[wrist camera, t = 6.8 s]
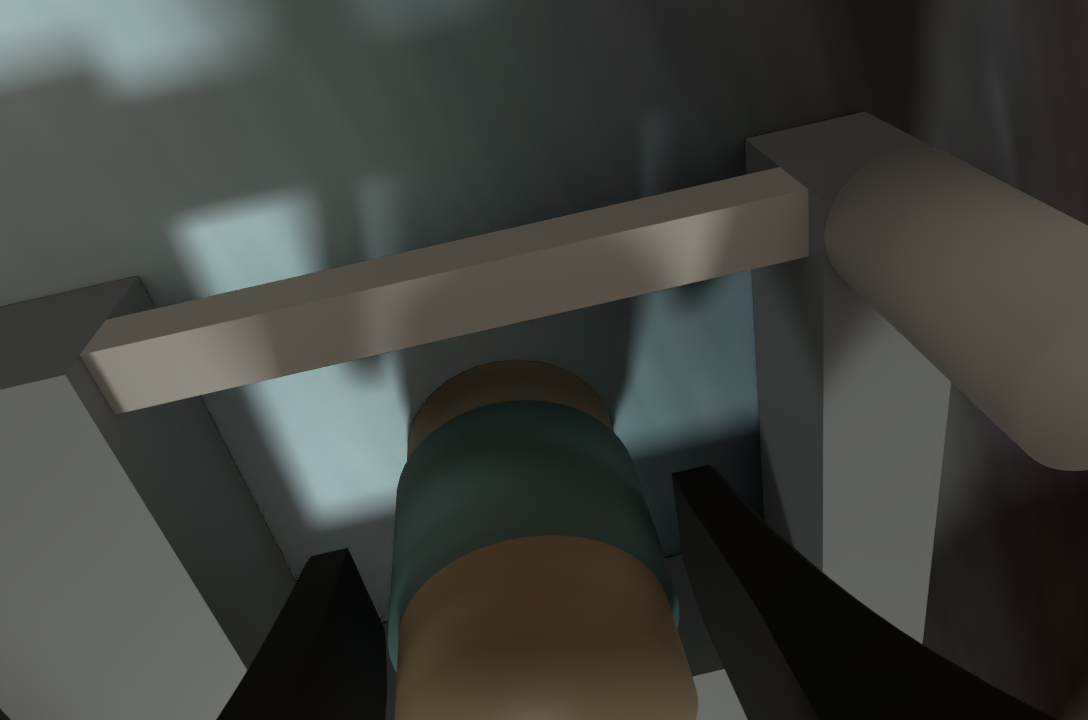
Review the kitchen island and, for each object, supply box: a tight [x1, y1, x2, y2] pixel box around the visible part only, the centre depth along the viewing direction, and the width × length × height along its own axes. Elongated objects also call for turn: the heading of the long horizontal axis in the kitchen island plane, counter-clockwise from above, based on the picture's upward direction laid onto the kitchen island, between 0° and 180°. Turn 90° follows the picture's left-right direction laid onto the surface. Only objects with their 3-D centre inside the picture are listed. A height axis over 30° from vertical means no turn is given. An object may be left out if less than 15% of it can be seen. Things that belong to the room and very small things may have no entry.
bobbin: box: [388, 360, 698, 720], centre depth 13 cm, size 4×4×6 cm
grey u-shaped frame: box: [0, 112, 1088, 720], centre depth 14 cm, size 16×16×7 cm
